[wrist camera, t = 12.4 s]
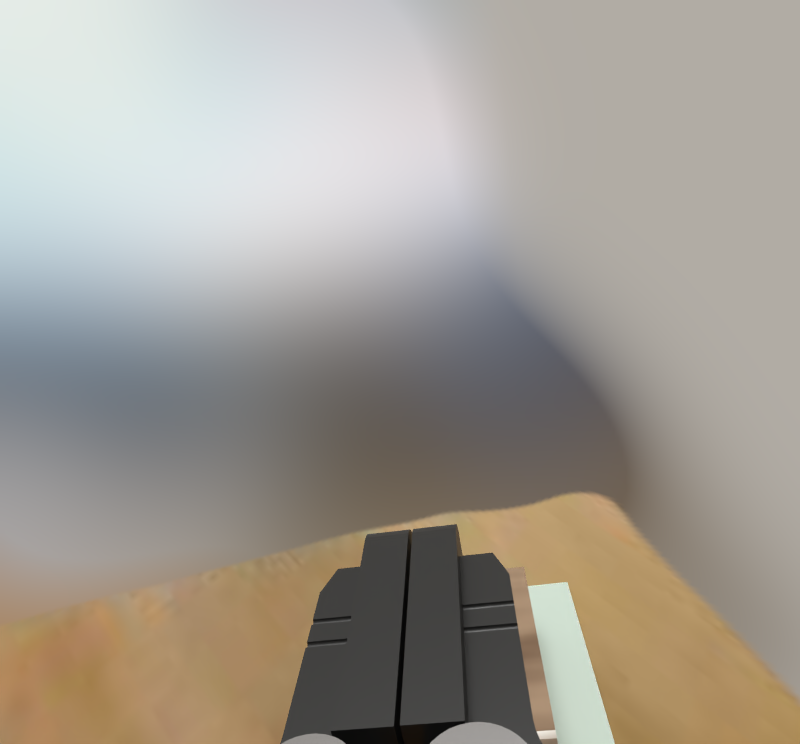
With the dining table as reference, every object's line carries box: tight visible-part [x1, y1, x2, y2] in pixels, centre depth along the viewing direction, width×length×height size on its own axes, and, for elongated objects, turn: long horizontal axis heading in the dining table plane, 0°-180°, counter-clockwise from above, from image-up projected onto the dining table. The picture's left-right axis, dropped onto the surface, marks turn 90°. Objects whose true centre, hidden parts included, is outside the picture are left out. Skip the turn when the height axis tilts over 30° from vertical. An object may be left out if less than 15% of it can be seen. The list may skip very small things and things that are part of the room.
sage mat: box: [528, 582, 615, 744], centre depth 35 cm, size 14×11×1 cm
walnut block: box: [506, 567, 558, 744], centre depth 31 cm, size 5×5×12 cm
